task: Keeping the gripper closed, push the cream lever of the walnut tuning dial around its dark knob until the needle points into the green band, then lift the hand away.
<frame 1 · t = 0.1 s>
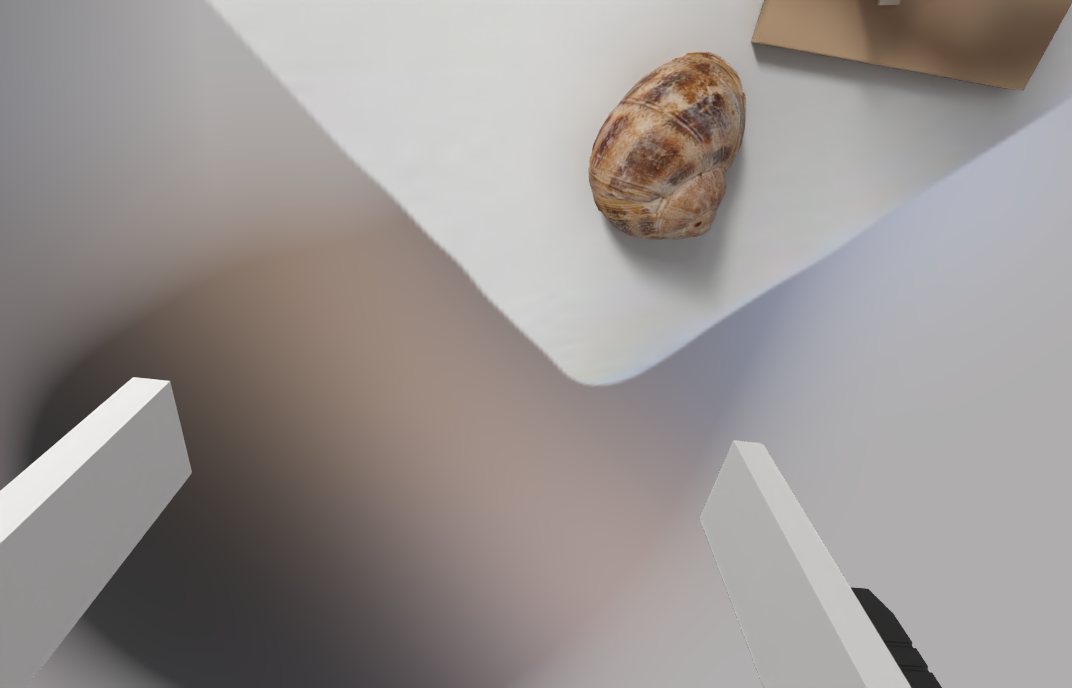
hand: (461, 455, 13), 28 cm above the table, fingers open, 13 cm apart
seashell: (661, 146, 36), on the table
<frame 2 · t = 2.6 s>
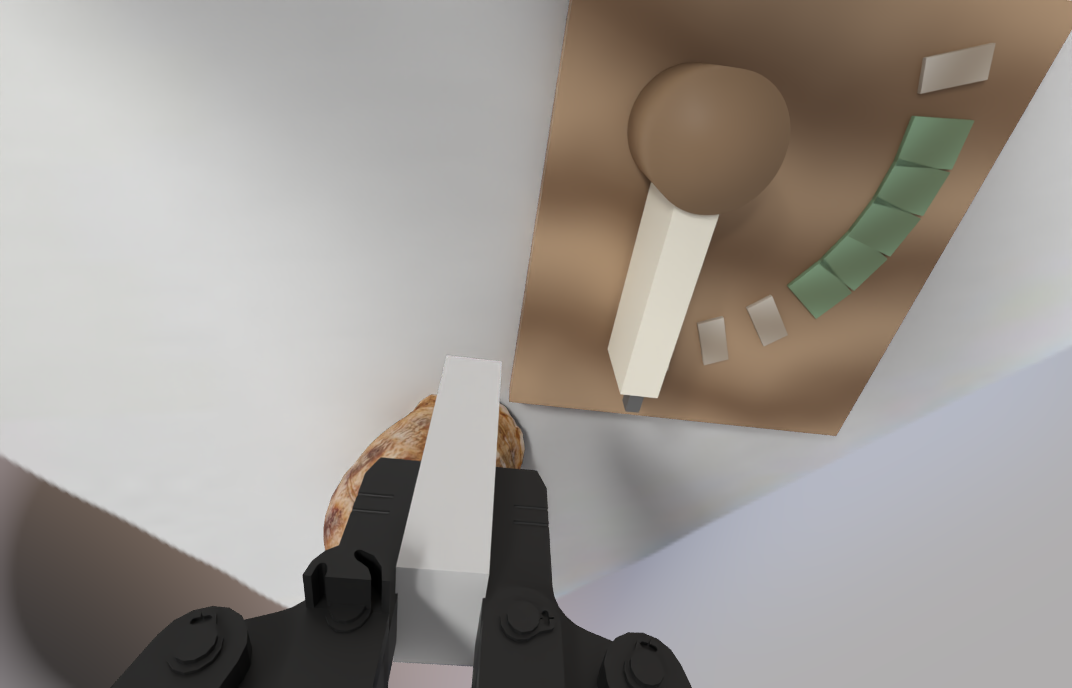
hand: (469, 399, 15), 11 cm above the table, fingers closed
seashell: (439, 464, 31), on the table
dial board: (734, 230, 23), on the table
lever: (665, 254, 20), point 3 cm above the table, hinge at 0.0°
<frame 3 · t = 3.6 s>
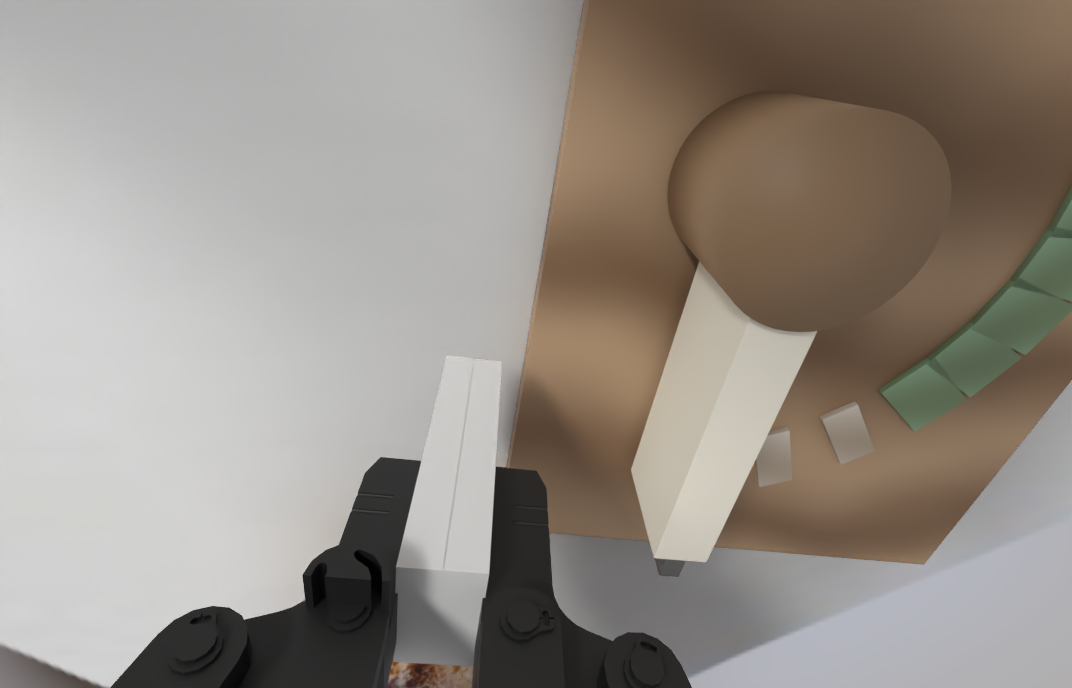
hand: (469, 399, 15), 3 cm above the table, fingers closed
seashell: (416, 584, 24), on the table
dial board: (807, 315, 17), on the table
lever: (722, 366, 14), point 3 cm above the table, hinge at 0.0°
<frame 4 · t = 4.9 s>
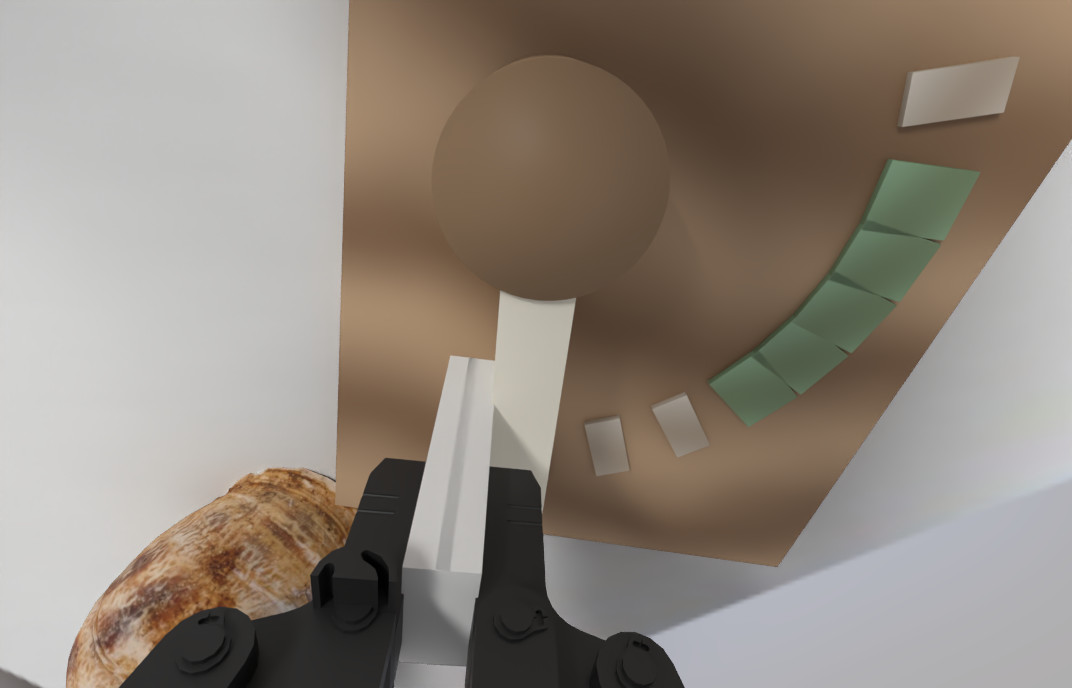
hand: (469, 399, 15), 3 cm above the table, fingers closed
seashell: (277, 556, 23), on the table
dial board: (638, 300, 17), on the table
lever: (528, 343, 14), point 3 cm above the table, hinge at 6.2°, touching gripper
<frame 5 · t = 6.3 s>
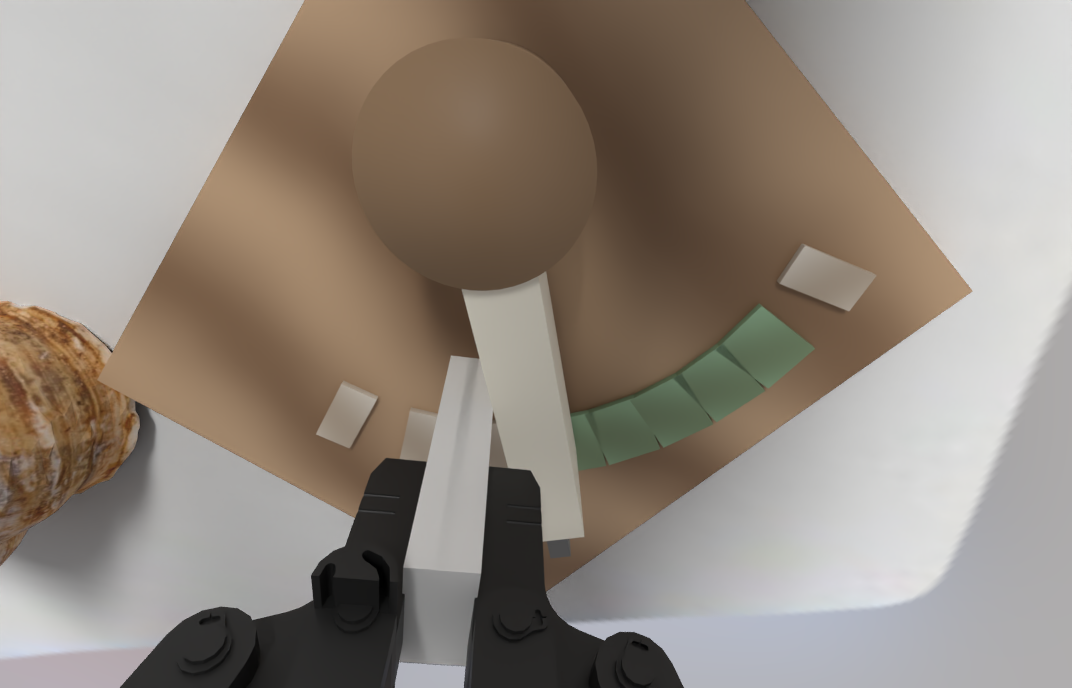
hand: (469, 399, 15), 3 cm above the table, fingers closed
dial board: (513, 319, 17), on the table
lever: (521, 335, 13), point 3 cm above the table, hinge at 50.9°, touching gripper
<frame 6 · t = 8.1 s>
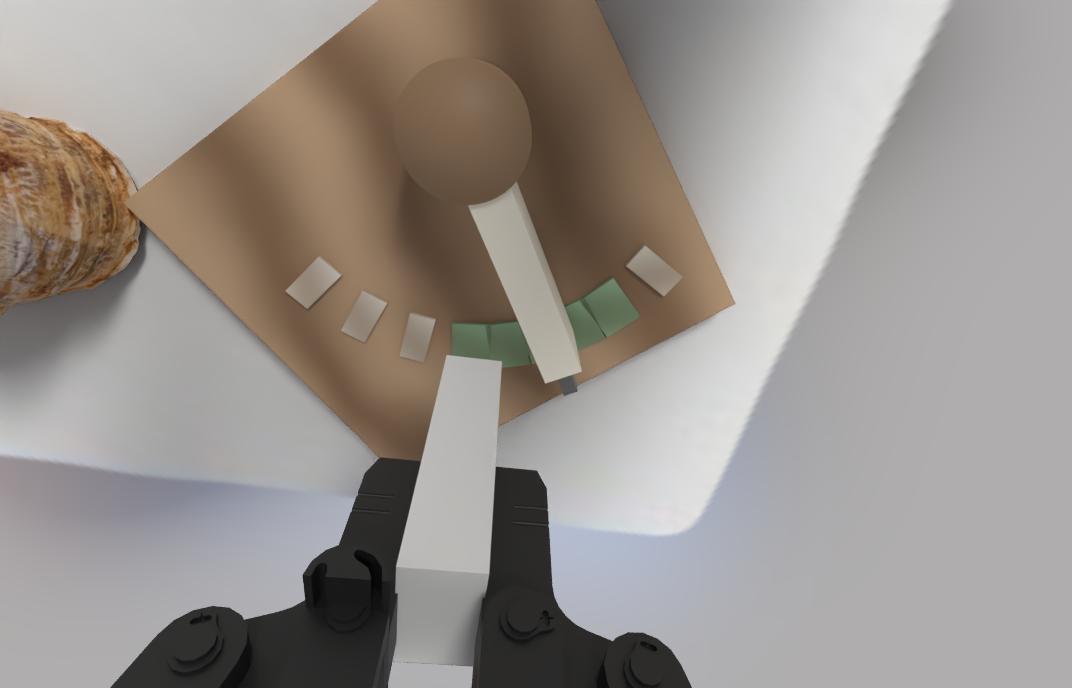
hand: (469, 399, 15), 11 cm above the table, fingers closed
seashell: (5, 204, 23), on the table
dial board: (453, 247, 24), on the table
lever: (514, 241, 20), point 3 cm above the table, hinge at 79.0°
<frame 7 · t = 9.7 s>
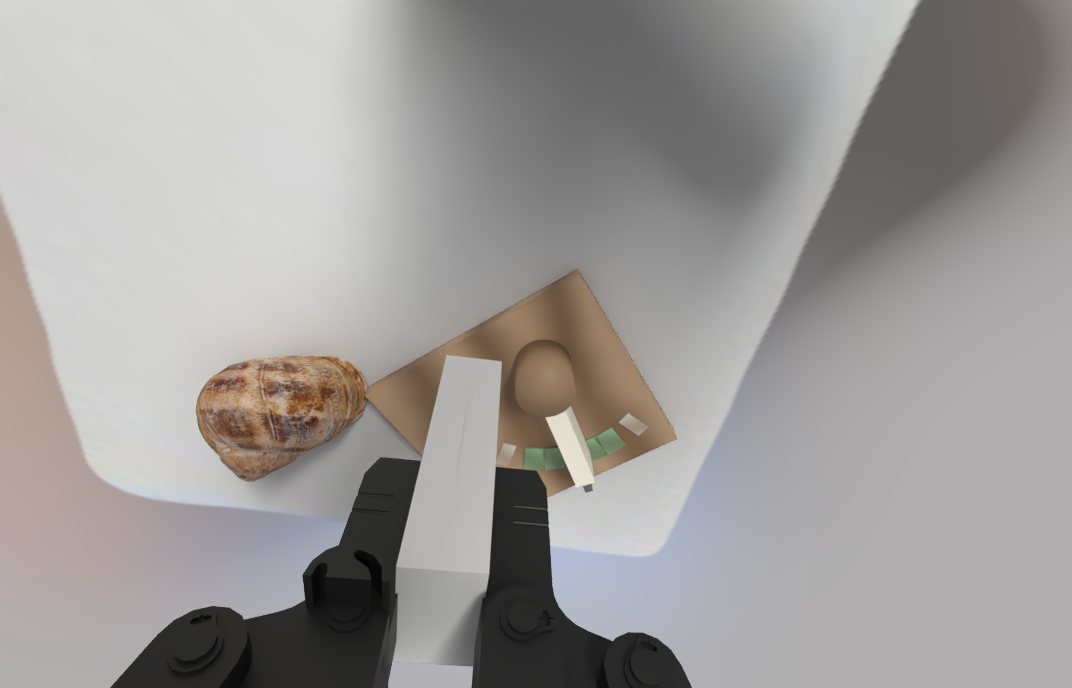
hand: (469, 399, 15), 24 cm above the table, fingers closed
seashell: (295, 389, 44), on the table, touching dial board
dial board: (526, 409, 45), on the table
lever: (562, 420, 41), point 3 cm above the table, hinge at 79.0°
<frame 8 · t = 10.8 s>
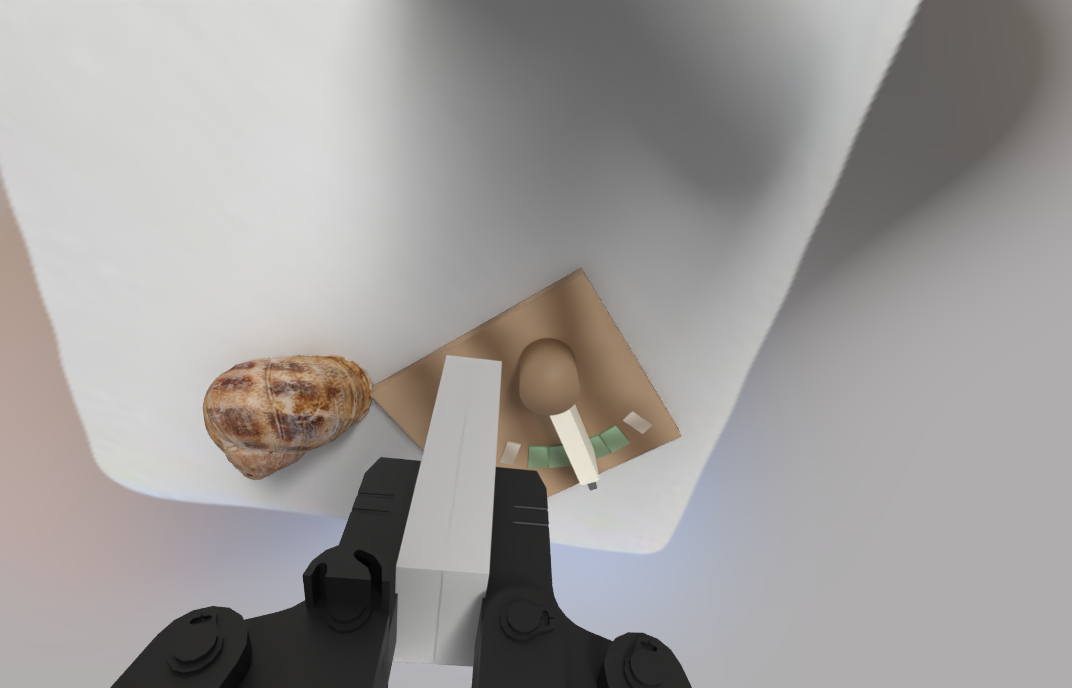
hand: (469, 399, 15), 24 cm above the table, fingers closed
seashell: (301, 389, 44), on the table
dial board: (530, 407, 45), on the table
lever: (566, 419, 42), point 3 cm above the table, hinge at 79.0°
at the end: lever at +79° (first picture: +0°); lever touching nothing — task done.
